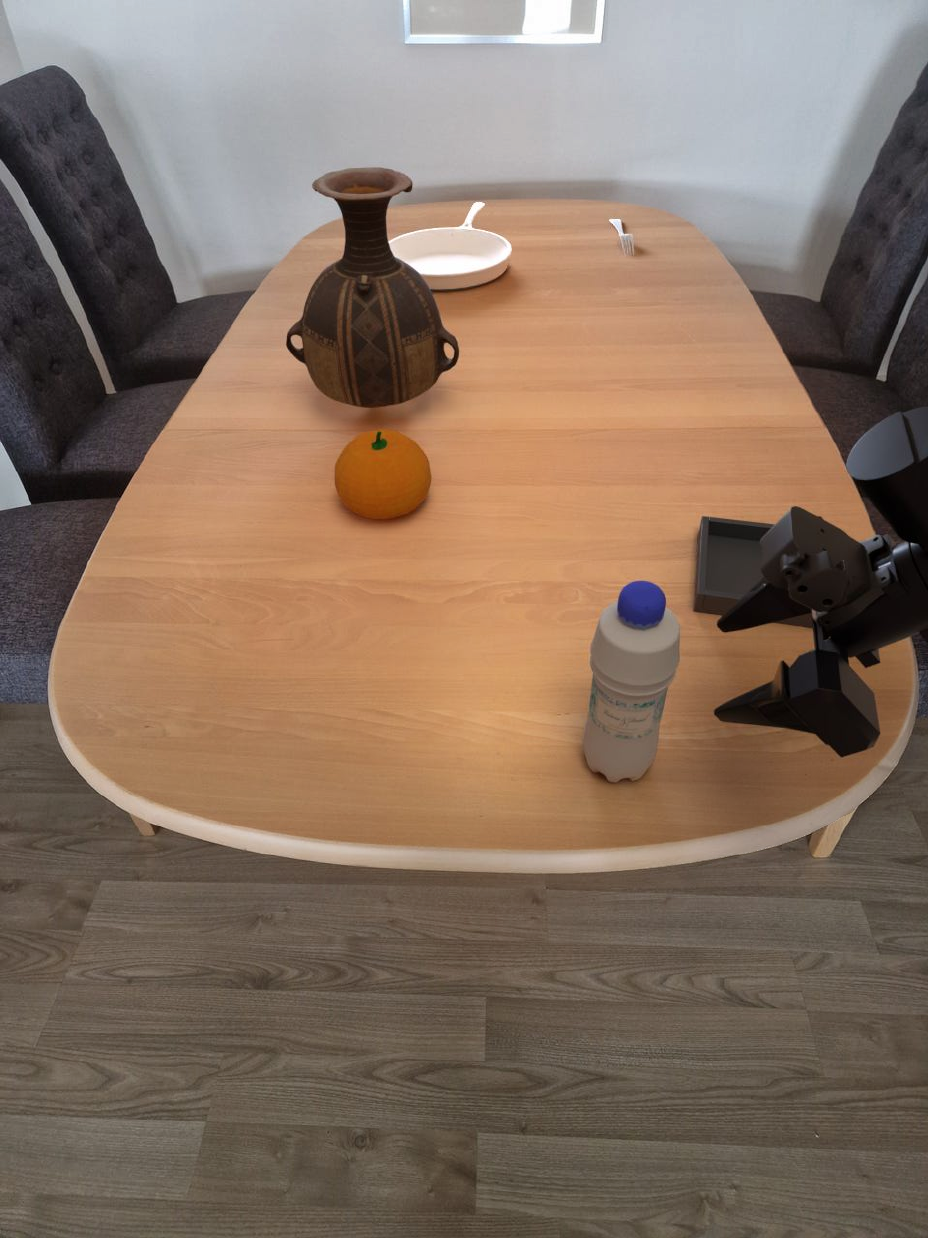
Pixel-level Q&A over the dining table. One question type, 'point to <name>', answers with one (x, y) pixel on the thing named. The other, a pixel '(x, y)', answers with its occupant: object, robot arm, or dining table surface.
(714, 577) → the tray
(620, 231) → the fork
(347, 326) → the vase
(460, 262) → the pan
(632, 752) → the bottle
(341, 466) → the fruit
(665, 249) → the dining table surface
